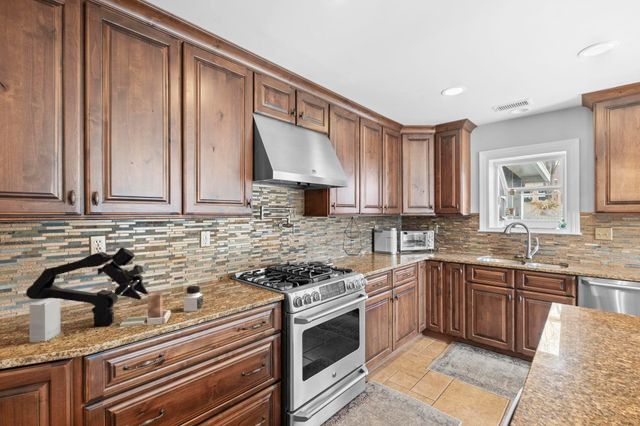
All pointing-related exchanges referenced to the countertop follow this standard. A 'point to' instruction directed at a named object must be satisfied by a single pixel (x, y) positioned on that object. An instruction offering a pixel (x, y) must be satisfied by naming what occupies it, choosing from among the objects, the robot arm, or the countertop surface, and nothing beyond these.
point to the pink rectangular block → (155, 305)
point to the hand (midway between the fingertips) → (144, 296)
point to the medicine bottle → (193, 299)
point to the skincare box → (44, 320)
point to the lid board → (134, 321)
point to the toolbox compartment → (159, 320)
